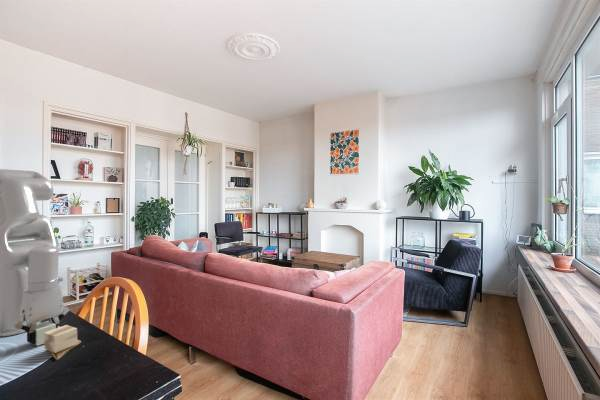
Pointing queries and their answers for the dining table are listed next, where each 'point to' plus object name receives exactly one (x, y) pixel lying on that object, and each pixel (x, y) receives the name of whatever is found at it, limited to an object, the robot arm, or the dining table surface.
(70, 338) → the beige metal block
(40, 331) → the sage block
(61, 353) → the shard
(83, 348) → the dining table surface
